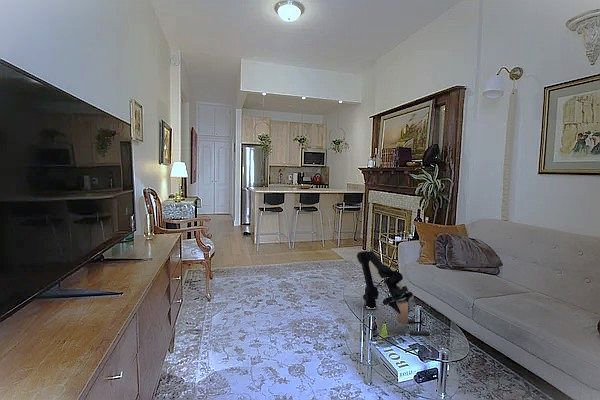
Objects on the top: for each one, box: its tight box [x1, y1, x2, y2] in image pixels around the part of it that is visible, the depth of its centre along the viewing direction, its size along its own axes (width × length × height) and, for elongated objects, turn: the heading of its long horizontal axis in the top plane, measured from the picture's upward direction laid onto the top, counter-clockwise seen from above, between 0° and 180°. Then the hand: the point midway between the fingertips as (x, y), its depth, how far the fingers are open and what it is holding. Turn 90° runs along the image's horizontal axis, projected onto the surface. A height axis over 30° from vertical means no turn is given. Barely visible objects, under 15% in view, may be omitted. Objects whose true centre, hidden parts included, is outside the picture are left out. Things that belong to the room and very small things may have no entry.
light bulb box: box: [396, 291, 415, 312], centre depth 219 cm, size 11×7×11 cm, turn 118°
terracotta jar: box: [396, 300, 409, 325], centre depth 193 cm, size 6×6×12 cm
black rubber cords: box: [407, 318, 430, 336], centre depth 198 cm, size 11×15×2 cm
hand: (404, 312), depth 192 cm, fingers closed on terracotta jar, 6 cm apart
